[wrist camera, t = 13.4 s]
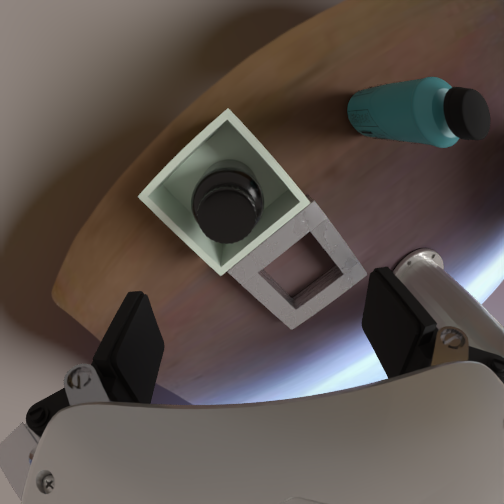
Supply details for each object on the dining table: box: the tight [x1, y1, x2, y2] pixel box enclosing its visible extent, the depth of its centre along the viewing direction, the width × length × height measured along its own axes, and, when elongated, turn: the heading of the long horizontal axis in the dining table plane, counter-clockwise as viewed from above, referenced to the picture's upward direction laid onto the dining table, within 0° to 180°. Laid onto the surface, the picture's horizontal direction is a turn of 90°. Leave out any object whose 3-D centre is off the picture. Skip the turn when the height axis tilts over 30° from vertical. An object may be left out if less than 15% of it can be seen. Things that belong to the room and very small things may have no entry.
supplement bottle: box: [191, 159, 264, 244], centre depth 27 cm, size 7×7×12 cm
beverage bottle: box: [347, 77, 490, 148], centre depth 20 cm, size 6×7×20 cm
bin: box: [138, 108, 310, 276], centre depth 30 cm, size 13×13×7 cm
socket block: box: [227, 195, 368, 330], centre depth 37 cm, size 14×14×3 cm
